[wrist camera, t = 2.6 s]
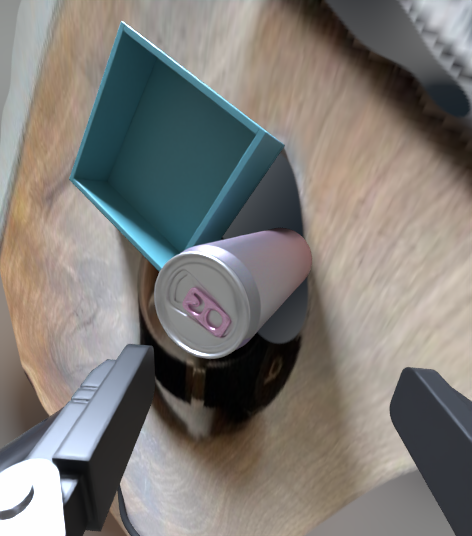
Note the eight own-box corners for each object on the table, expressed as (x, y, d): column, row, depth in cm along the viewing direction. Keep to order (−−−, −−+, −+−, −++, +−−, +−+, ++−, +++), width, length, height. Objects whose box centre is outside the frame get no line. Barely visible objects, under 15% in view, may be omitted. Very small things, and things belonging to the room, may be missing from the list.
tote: (285, 145, 25) (266, 132, 20) (197, 272, 32) (169, 283, 27) (160, 49, 28) (121, 20, 24) (106, 183, 35) (68, 179, 31)
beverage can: (289, 299, 27) (214, 385, 14) (244, 263, 29) (136, 311, 15) (326, 251, 25) (276, 301, 12) (274, 215, 26) (177, 223, 13)
